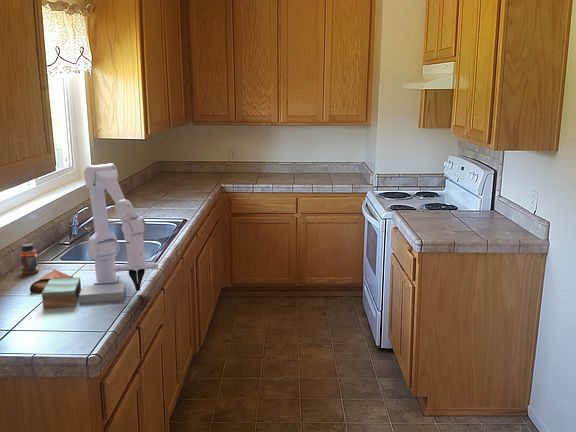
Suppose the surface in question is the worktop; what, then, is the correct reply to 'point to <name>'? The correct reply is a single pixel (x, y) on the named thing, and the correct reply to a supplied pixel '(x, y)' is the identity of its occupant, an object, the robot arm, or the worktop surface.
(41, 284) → the sunglasses case
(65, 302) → the overhang bridge
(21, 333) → the worktop surface
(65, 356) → the worktop surface
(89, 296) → the flat grey cuboid
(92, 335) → the worktop surface
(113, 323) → the worktop surface
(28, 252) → the supplement bottle
